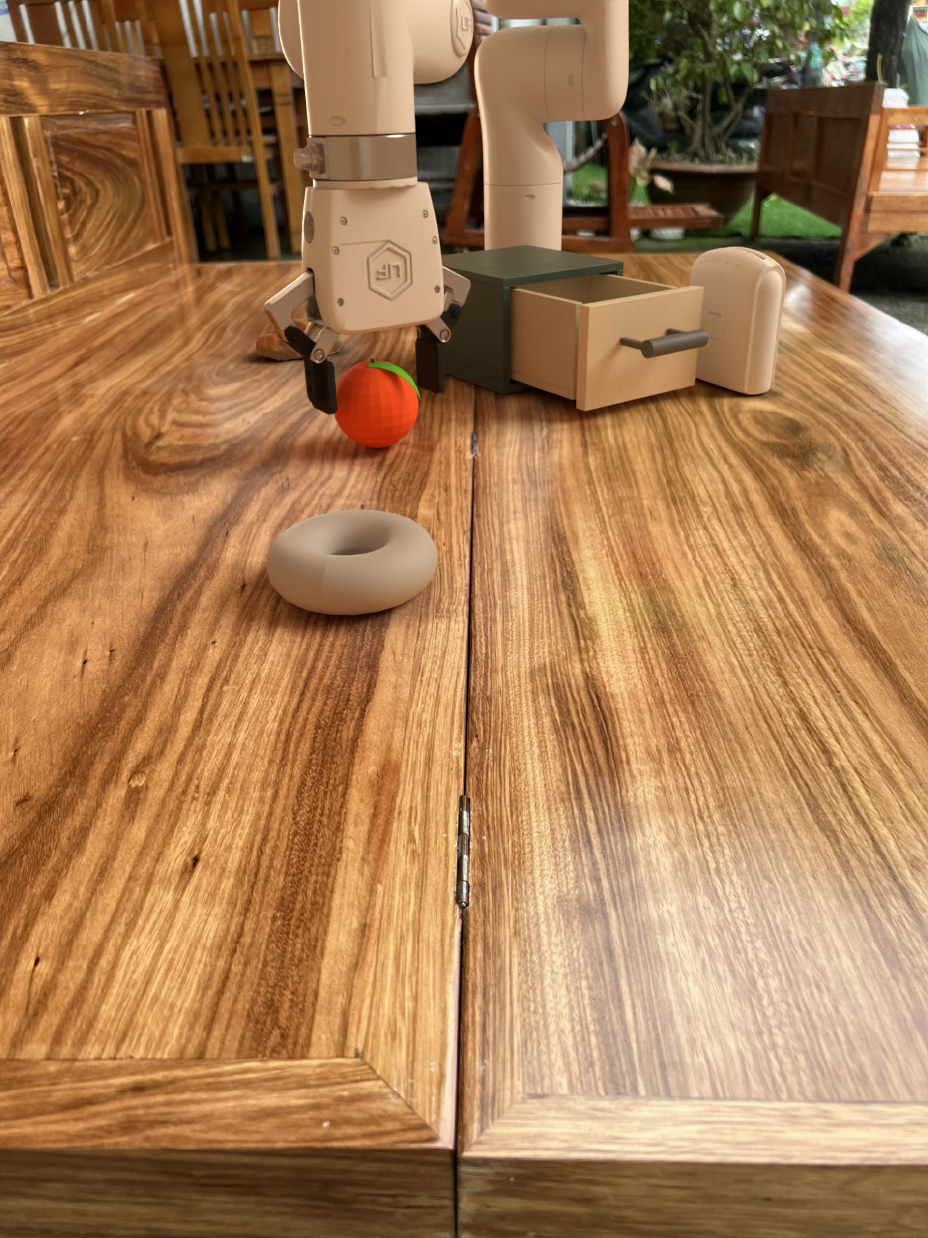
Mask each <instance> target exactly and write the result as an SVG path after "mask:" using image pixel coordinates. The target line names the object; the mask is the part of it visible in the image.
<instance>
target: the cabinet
mask: <svg viewBox="0 0 928 1238" xmlns="http://www.w3.org/2000/svg"><path fill="white" fill-rule="evenodd" d="M441 260H442V266H444V267H446V268H448V269H450V270H451V271H453V272H455V273H457V274H459V275H461V276H463V277H465V278H467V279H468V280H470V283H471V286H470V290H469V292H468V295H467V298H466V300H465V303H464V305H463V306H462V315H461V317H460V318H459V320H458V321H457V323H456V324H455V326H454V327H453V328H452V330H451V337H450V339H449V340H448V341H447V342H444V346H445V375H449V376H452V377H454V378H457V379H459V380H463V381H465V382H468V383H470V384H473V385H476V386H479V387H482V388H484V389H486V390H490V391H491V392H496V393H498V394H500V395H509V394H513V393H518V392H523V391H526V390H531V389H536V388H537V387H534V386H531V385H528V384H525V383H522V382H519V381H516V380H513V379H510V287H512V286H519V285H525V284H532V283H539V282H545V281H552V280H559V279H565V278H572V277H579V276H585V275H592V274H599V273H606V274H612V275H617V276H622V277H624V264H625V263H624V262H625V261H623V260H619V259H612V258H607V257H600V256H595V255H590V254H589V255H588V254H583V253H576V252H570V251H566V250H565V251H564V250H561V251H560V250H554V249H548V248H542V247H536V246H530V245H522V246H514V247H506V248H498V249H490V250H485V249H483V250H475V251H468V252H459V253H451V254H444V255H441ZM445 295H446V289H445V287H444V297H445ZM444 300H445V298H444ZM415 328H416V327H415ZM419 337H421V333H420V332H419V331H418V329H417V328H416V338H419ZM537 389H538V388H537Z"/></svg>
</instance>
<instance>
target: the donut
mask: <svg viewBox="0 0 928 1238" xmlns="http://www.w3.org/2000/svg"><path fill="white" fill-rule="evenodd" d="M438 558H439V552H438V547H437V546H436V543H435V541H434V540H433V538H432V537H431V534H430V533H429V531H428V530H427V529H426V528H424V527H423V526H422V525H420V524H419V523H418V522H416V521H414V520H413V519H411V518H410V517H407V516H403V515H401V514H398V513H395V512H390V511H383V510H378V509H377V510H376V509H344V510H343V509H342V510H335V511H329V512H325V513H321V514H316V515H313V516H311V517H308V518H306V519H303V520H300V521H297V522H296V523H293V524H292V525H290V526H289V527H288V528H286V529H284V530H283V531H282V532H281V533H280V534H279V535H277V537H275V539H274V541H273V543H272V544H271V547H270V548H269V550H268V552H267V555H266V563H265V565H266V571H267V576H268V577H267V578H268V580H269V583H270V585H271V586H272V587H273V589H274V590H275V592H277V593H278V594H279V595H280V596H281V597H282V598H283V599H284V600H285V601H287V602H288V603H290V604H291V605H294V606H296V607H298V608H301V609H303V610H305V611H308V612H313V613H318V614H323V615H329V616H331V615H332V616H356V615H364V614H371V613H378V612H381V611H385V610H388V609H392V608H396V607H398V606H401V605H403V604H404V603H407V602H409V601H410V600H412V599H414V598H415V597H417V596H418V595H419V594H420V593H422V591H423V590H424V589H425V588H426V587H427V586H428V585H429V584H430V583H431V582H432V580H433V578H434V576H435V575H436V574H435V573H436V569H437V564H438Z"/></svg>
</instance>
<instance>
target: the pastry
mask: <svg viewBox="0 0 928 1238" xmlns="http://www.w3.org/2000/svg"><path fill="white" fill-rule="evenodd" d="M293 319H294V318H293ZM294 321H295V324H296V326H297V327H298V328H299V329H300V330H301V331H303V332H305V330H306V328H307V327H308V325H309V323H310V321H309V320H308V318H307V317H306V318H295V319H294ZM342 345H343V338H342V337H341V334H340V335H339V337H338V338H337V340H336V342H335V343H334V345H333V347H332V348H331V350H330V352H329V354H328V355H327V356H331V355H334V354H336V353H338V352H340V349H341V347H342ZM254 351H255V355H257V356H263V357H266V358H270V359H274V360H277V361H278V362H279V361H281V360H282V361H285V362H286V361H289V360H300V359H303V357H301V356H299V355H298V354H297V352H296V351H295V350H294V349H292V348H291V347H290V346H289V345H288V344H287V343H285V342H284V341H283V340H282V339H281V338H280V337H279V333H278V331H277V330H276V329H275V328H274V329H271V330H269V331H268V332H267V333H264V334H263V335H262V336H260V337H258V338H257V340H256V342H255V350H254Z"/></svg>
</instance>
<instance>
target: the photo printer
mask: <svg viewBox="0 0 928 1238" xmlns="http://www.w3.org/2000/svg"><path fill="white" fill-rule="evenodd" d="M689 273H690V274H689V285H688V287H689V286H699V287H704V290H703V301H702V312H701V322H700V329H704V330H705V331H706V332H707V334H708V342H707V344H706V345H705V346H704V347H699V348H698V354H697V365H696V376H695V379H698V380H701V381H704V382H706V383H710V384H713V385H716V386H719V387H722V388H725V389H728V390H732V391H735V392H738V393H741V394H744V395H760V394H764V393H767V392H768V391H769V390H770V388H773V386H774V383H775V375H776V368H777V360H778V359H777V358H778V350H779V342H780V333H781V326H782V318H783V309H784V302H785V295H786V294H785V293H786V287H787V277H786V273H785V270H784V268H783V267H782V266H781V264H780V263H778V262H777V261H776V260H775V259H773V258H772V257H770V256H768V255H767V254H766V253H763V252H761V251H758V250H755V249H752V248H749V247H744V246H727V247H719V248H713V249H711V250H707V251H705V252H703V253H701V254H700V255H698V256H697V257H696V259H695V261H694V262H693V264H692V267H691V270H690V272H689Z"/></svg>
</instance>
